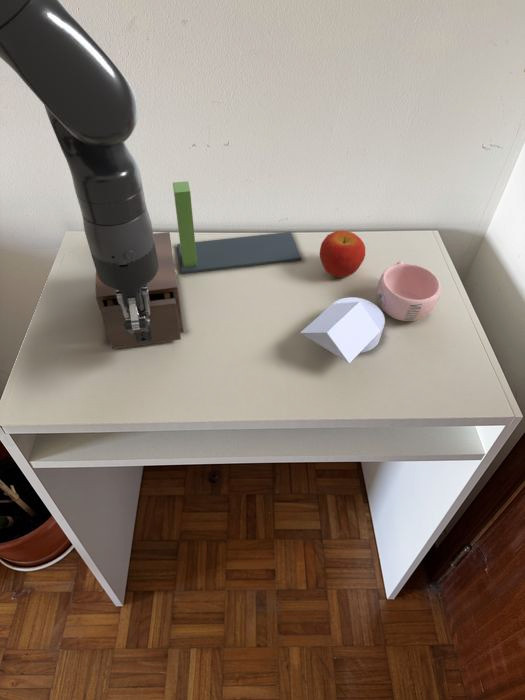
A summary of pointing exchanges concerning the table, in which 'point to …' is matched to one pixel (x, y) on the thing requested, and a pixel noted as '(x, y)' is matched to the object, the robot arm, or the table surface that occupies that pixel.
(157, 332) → the drawer
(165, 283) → the cabinet
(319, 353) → the table surface
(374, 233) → the table surface
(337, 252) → the apple
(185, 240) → the long green square beam
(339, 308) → the wedge on round base
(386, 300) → the mug
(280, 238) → the mat
